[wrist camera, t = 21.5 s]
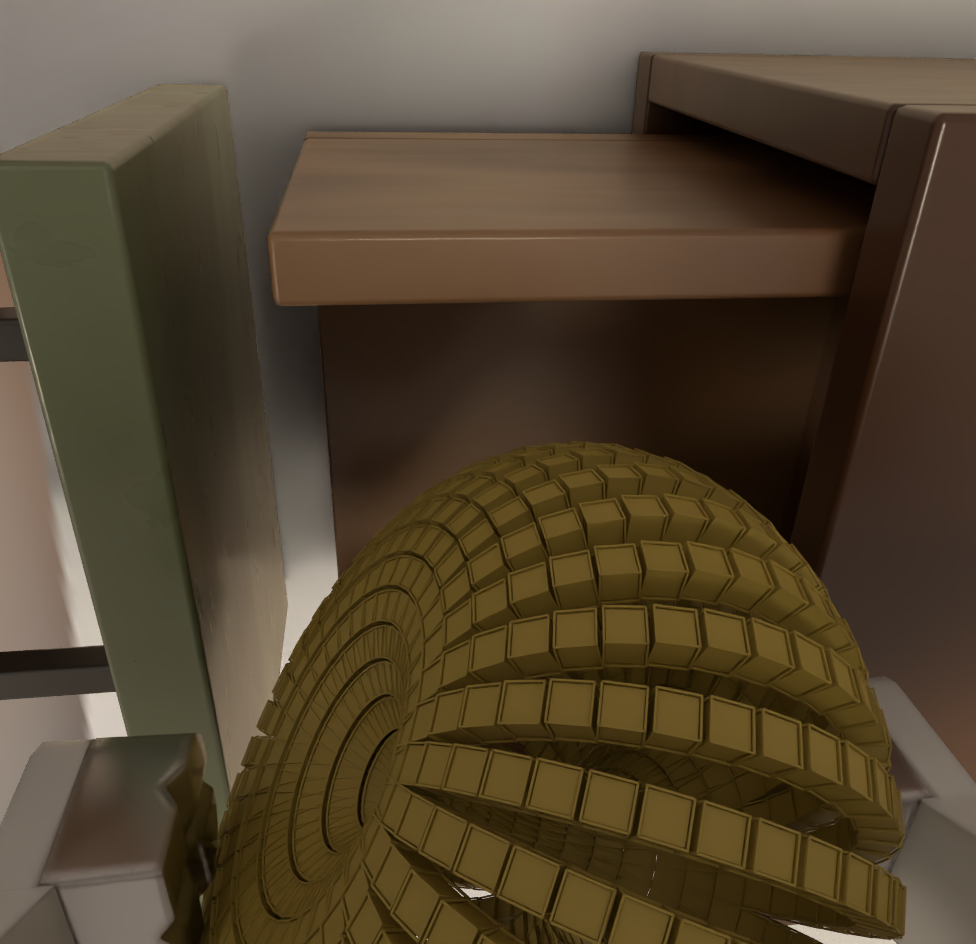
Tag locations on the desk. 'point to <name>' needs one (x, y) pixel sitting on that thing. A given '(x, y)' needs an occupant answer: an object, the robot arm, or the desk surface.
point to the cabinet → (878, 346)
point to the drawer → (386, 352)
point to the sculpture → (566, 729)
